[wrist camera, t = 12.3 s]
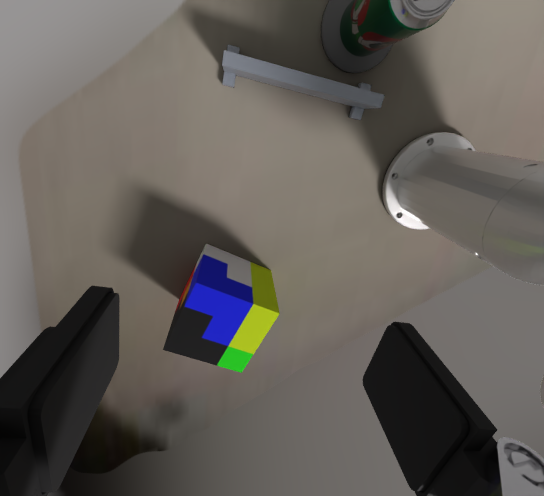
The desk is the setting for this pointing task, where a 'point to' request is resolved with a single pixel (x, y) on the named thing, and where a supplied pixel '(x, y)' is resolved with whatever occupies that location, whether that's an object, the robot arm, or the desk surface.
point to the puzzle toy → (223, 310)
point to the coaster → (336, 47)
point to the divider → (299, 82)
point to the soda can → (386, 22)
